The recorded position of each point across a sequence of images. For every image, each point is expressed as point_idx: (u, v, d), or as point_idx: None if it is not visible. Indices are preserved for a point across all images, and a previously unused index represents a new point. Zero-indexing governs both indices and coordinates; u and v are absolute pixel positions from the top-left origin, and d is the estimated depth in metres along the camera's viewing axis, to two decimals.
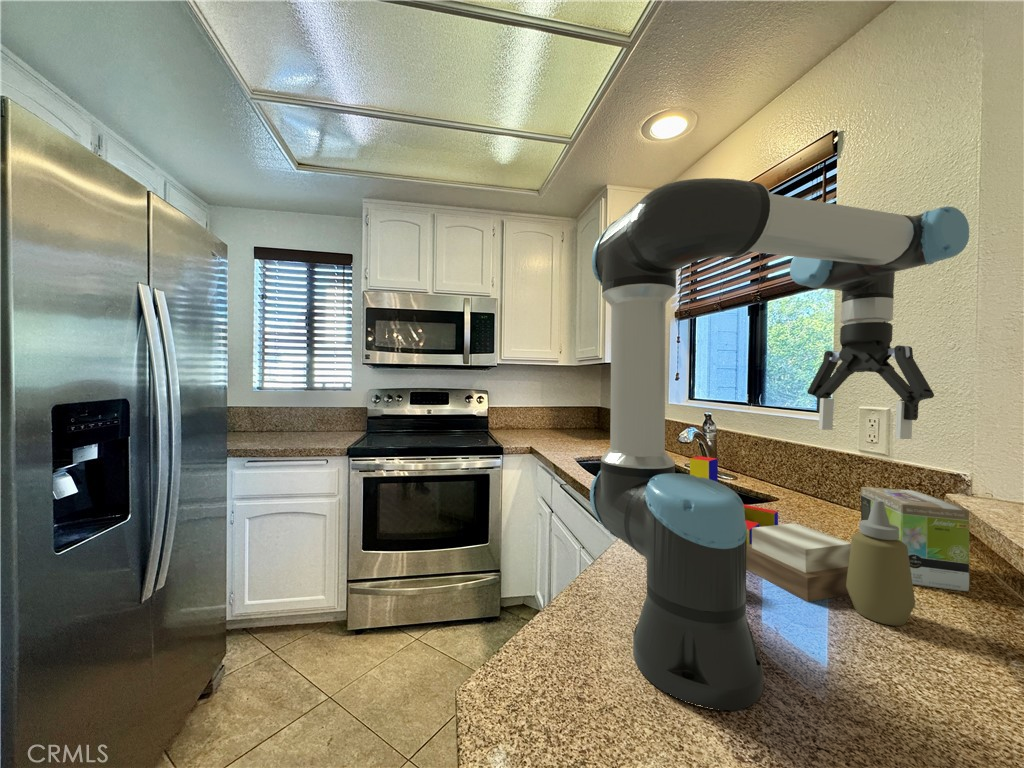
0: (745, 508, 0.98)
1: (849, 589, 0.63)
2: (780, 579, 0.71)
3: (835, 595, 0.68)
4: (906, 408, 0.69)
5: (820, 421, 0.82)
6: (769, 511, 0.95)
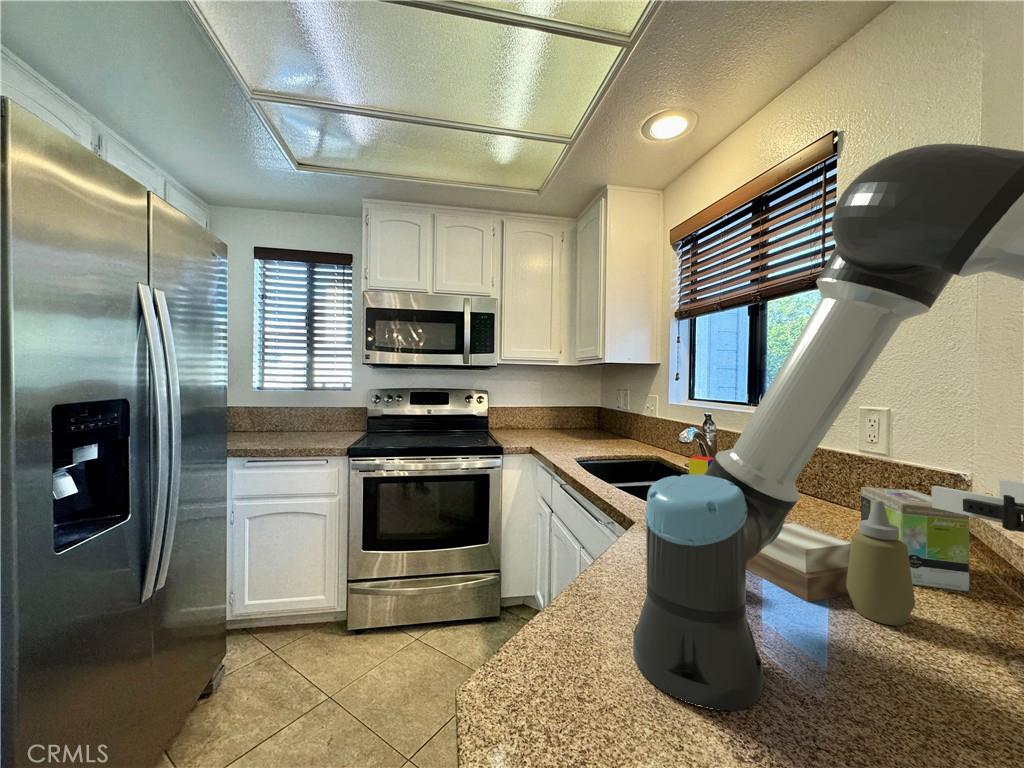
0: None
1: (849, 589, 0.63)
2: (780, 579, 0.71)
3: (835, 595, 0.68)
4: (990, 503, 0.45)
5: (1019, 482, 0.53)
6: None
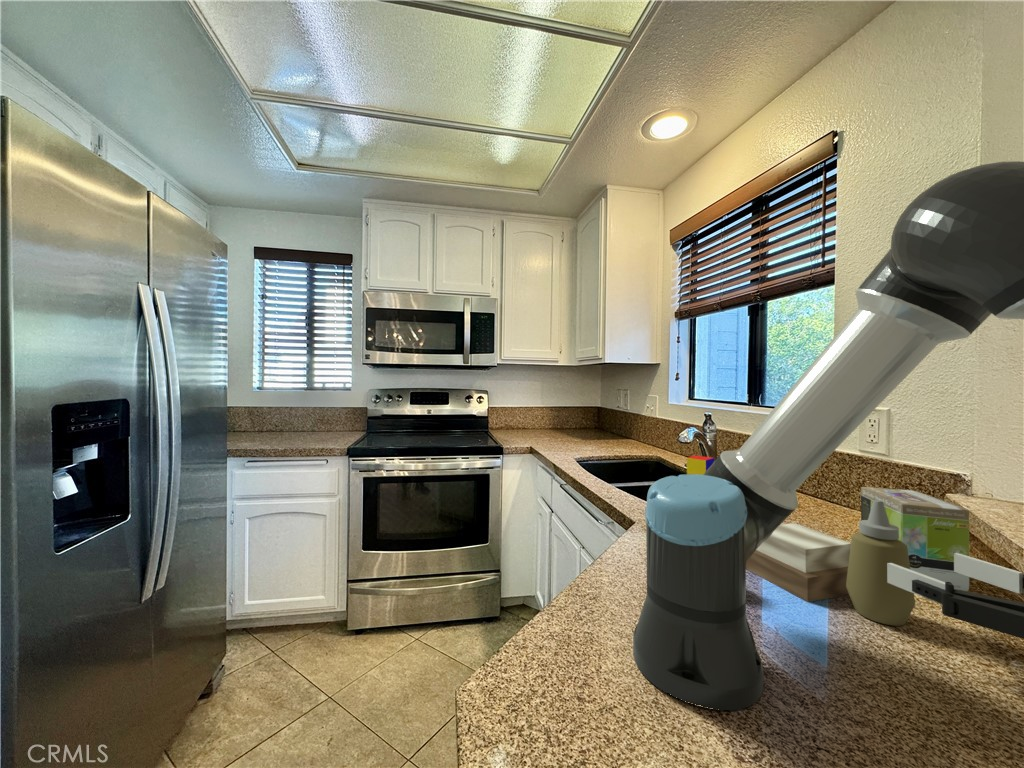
0: None
1: (849, 589, 0.63)
2: (780, 579, 0.71)
3: (835, 595, 0.68)
4: (935, 587, 0.50)
5: (971, 557, 0.57)
6: None
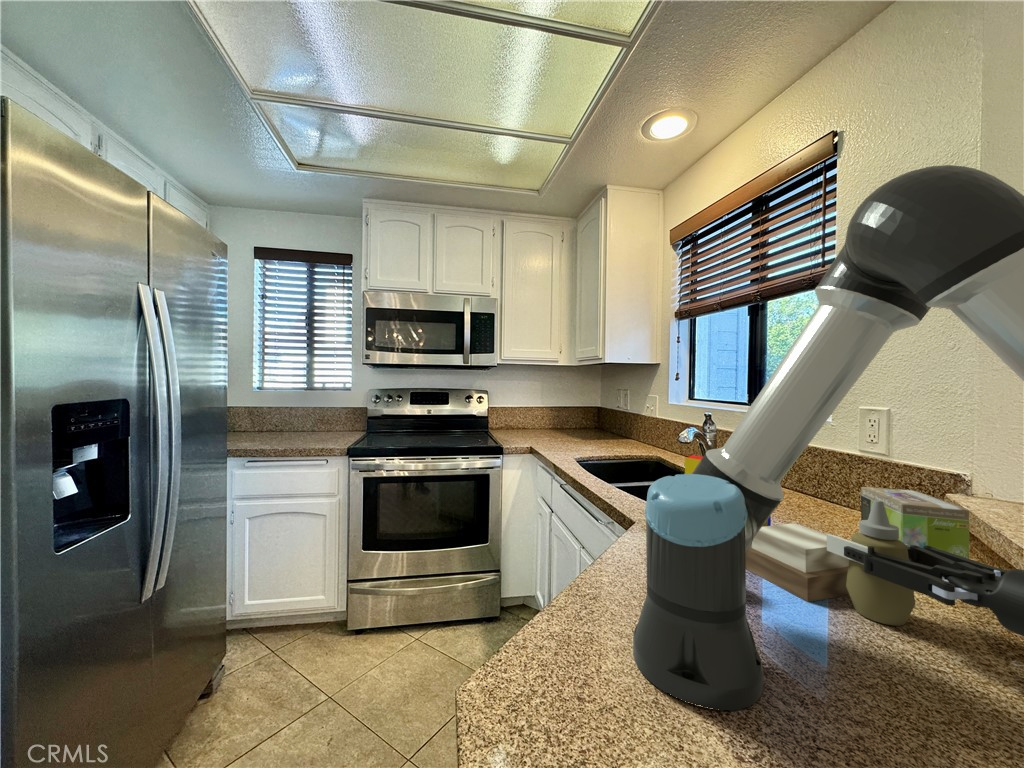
0: None
1: (849, 589, 0.63)
2: (780, 579, 0.71)
3: (835, 595, 0.68)
4: (861, 551, 0.61)
5: None
6: None
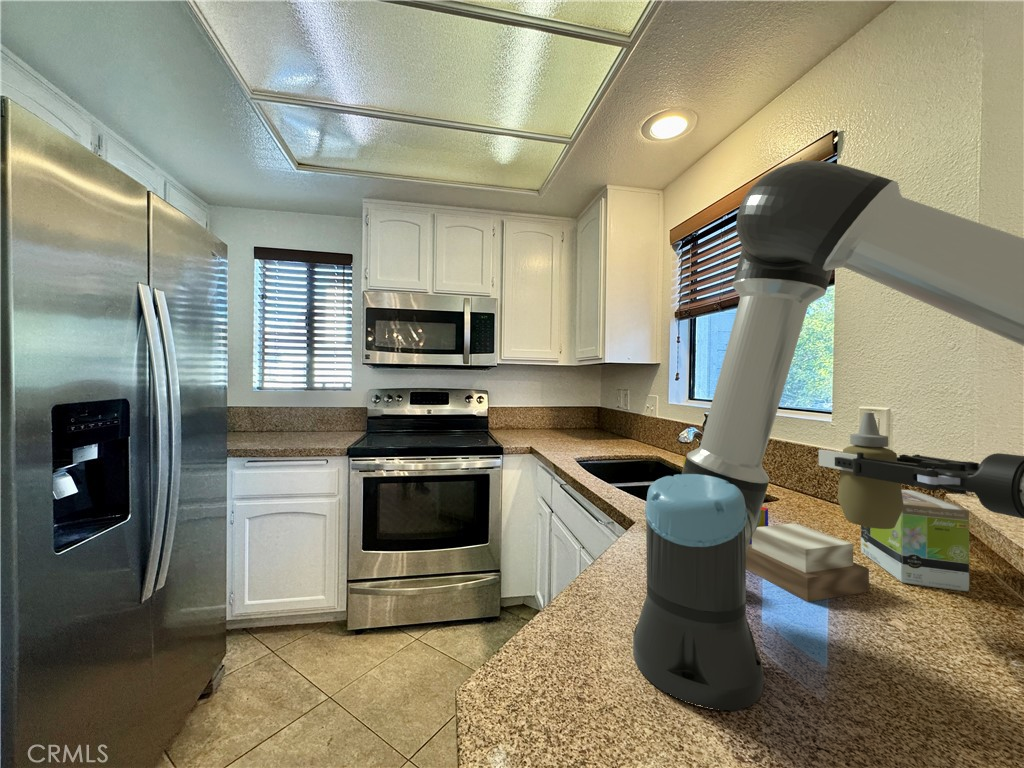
0: None
1: (840, 499, 0.65)
2: (780, 579, 0.71)
3: (835, 595, 0.68)
4: (850, 459, 0.63)
5: None
6: None
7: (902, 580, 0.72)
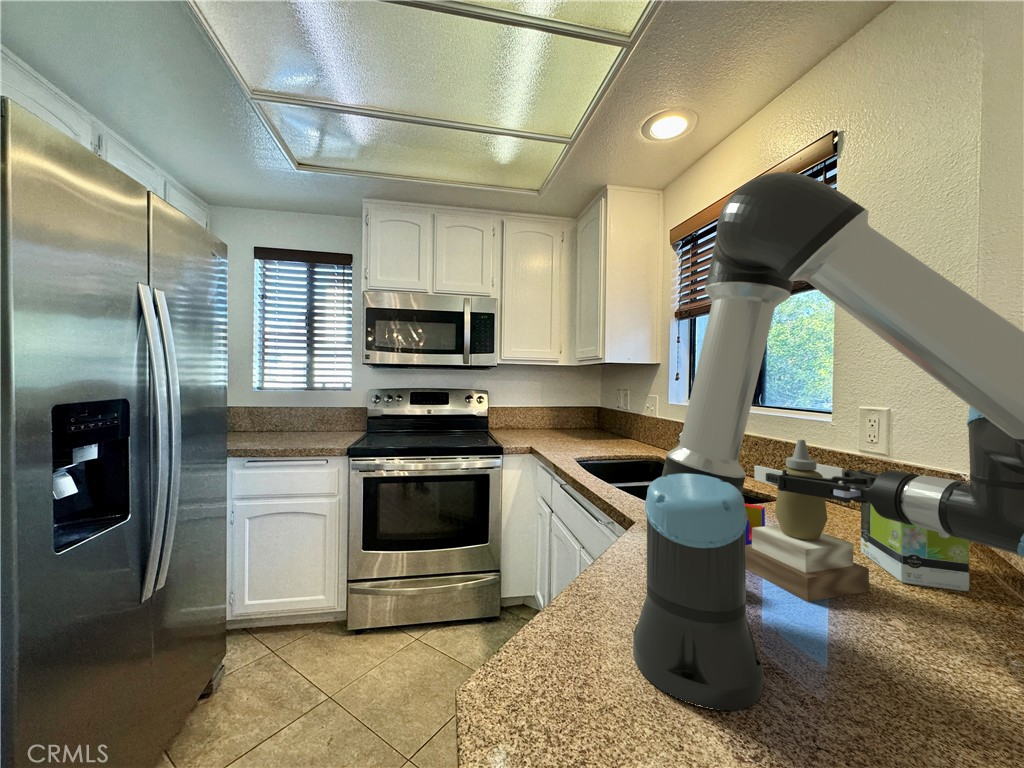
0: None
1: (776, 513, 0.76)
2: (780, 579, 0.71)
3: (835, 595, 0.68)
4: (778, 475, 0.71)
5: (817, 464, 0.78)
6: (756, 507, 0.98)
7: (902, 580, 0.72)
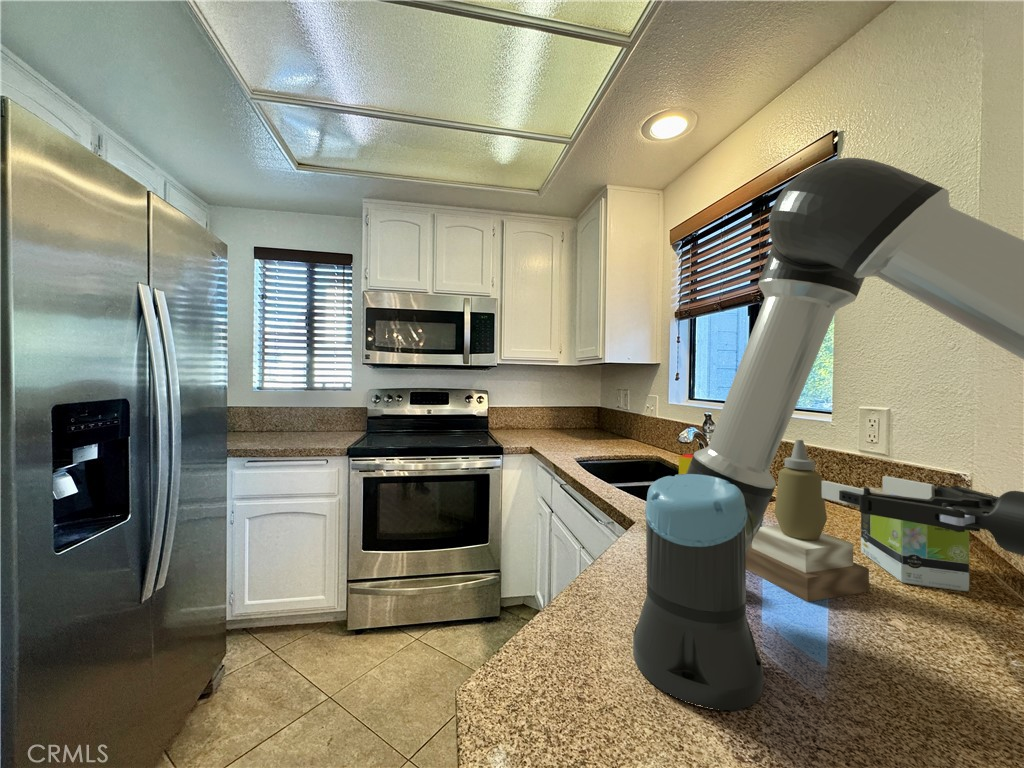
0: None
1: (776, 514, 0.76)
2: (780, 579, 0.71)
3: (835, 595, 0.68)
4: (856, 493, 0.58)
5: (895, 478, 0.66)
6: None
7: (902, 580, 0.72)
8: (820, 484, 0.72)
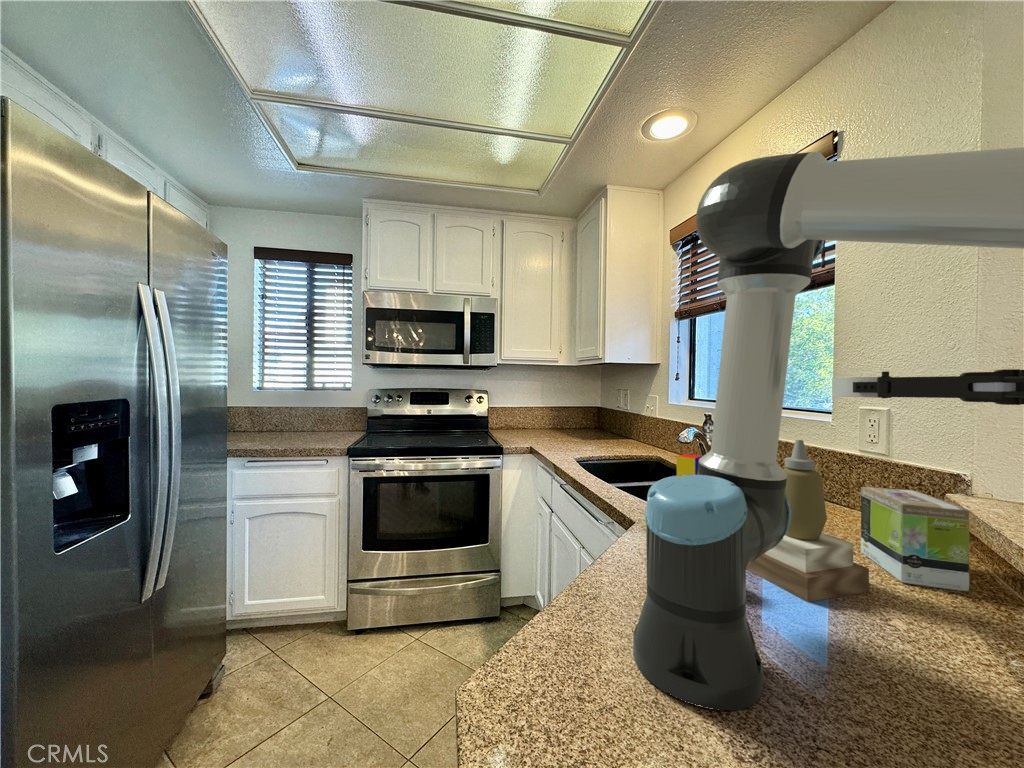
0: None
1: None
2: (780, 579, 0.71)
3: (835, 595, 0.68)
4: (873, 381, 0.51)
5: None
6: None
7: (902, 580, 0.72)
8: (820, 484, 0.72)
